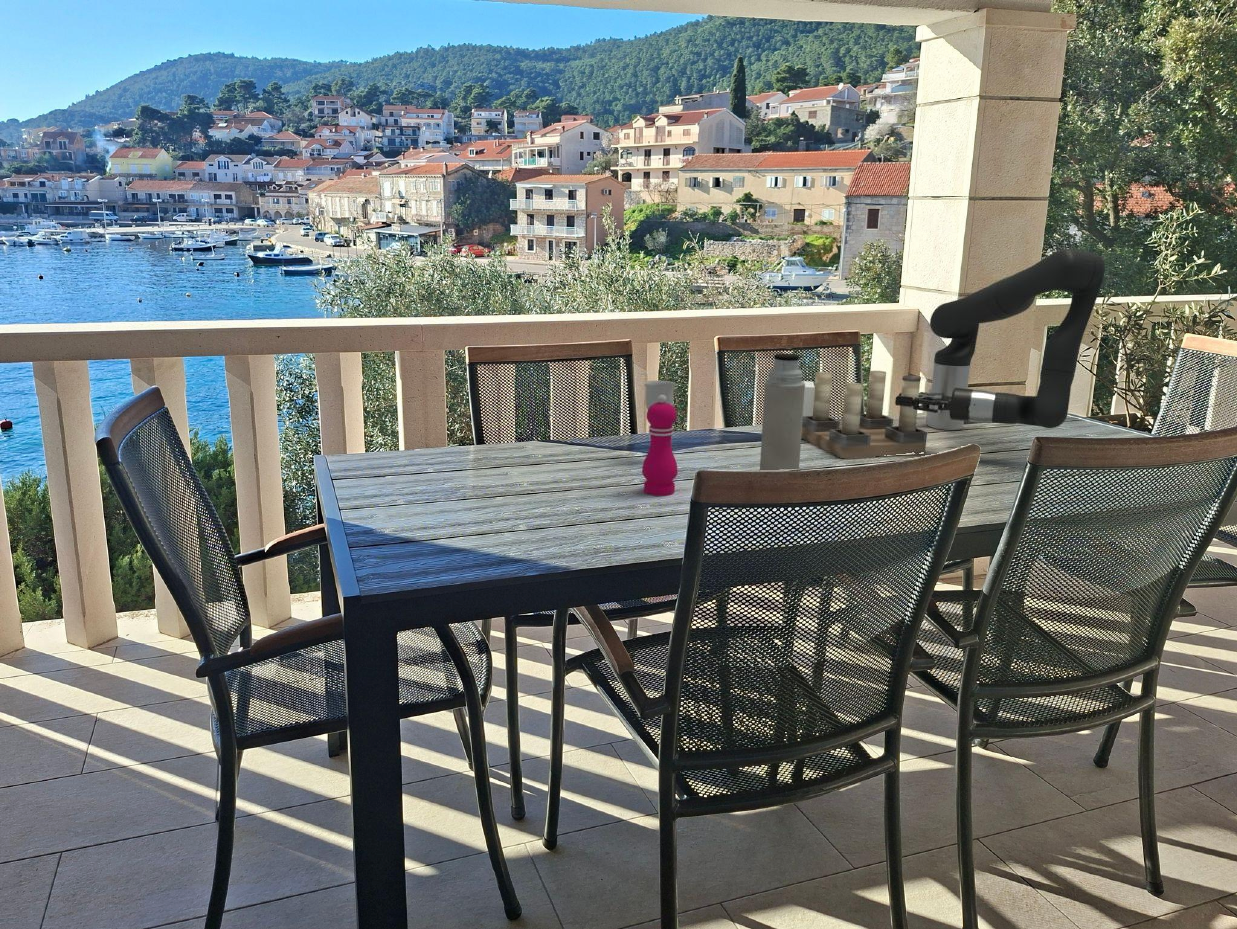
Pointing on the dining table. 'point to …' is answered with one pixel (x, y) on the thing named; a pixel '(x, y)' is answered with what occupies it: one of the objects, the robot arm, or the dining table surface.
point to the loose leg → (908, 413)
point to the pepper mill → (660, 450)
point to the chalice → (659, 391)
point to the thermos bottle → (782, 415)
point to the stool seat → (857, 422)
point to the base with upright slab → (808, 398)
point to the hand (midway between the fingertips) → (897, 398)
